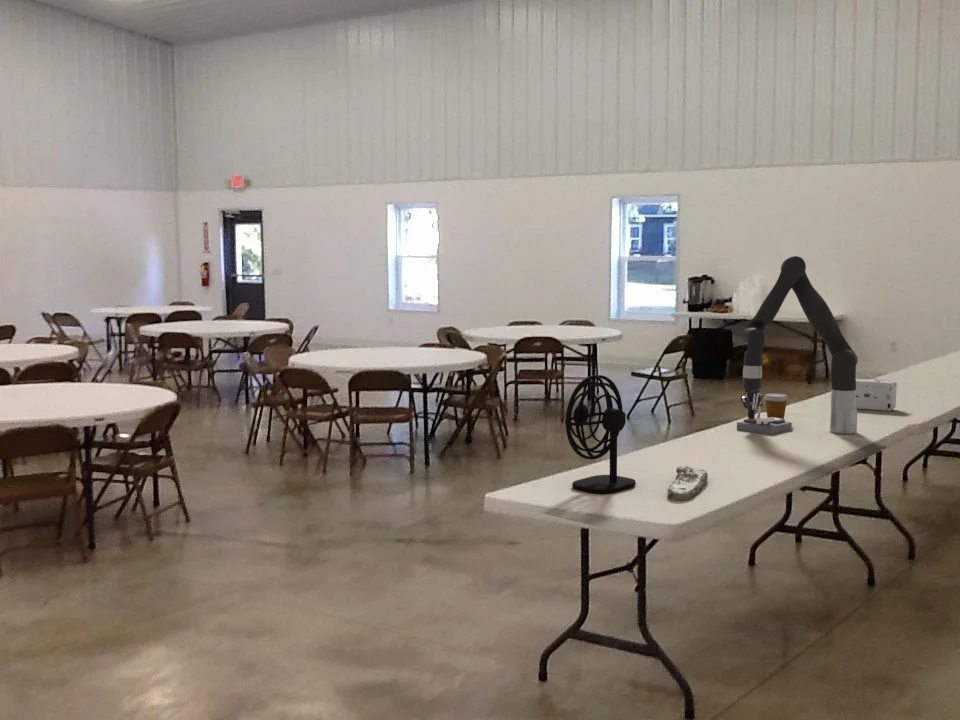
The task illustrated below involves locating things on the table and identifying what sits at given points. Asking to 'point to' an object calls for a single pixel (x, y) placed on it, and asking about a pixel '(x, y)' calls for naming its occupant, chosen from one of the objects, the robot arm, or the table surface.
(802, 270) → the robot arm
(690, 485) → the long grey stone
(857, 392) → the stereo radio cassette player
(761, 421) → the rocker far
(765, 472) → the table surface
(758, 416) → the toggle
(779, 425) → the panel
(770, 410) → the disposable coffee cup
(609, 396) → the desk fan
